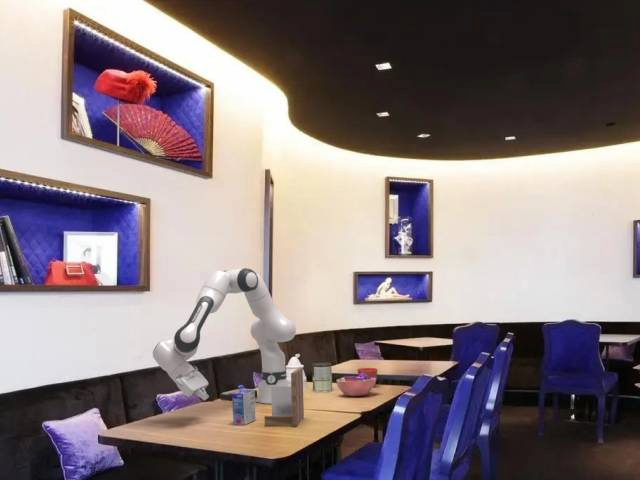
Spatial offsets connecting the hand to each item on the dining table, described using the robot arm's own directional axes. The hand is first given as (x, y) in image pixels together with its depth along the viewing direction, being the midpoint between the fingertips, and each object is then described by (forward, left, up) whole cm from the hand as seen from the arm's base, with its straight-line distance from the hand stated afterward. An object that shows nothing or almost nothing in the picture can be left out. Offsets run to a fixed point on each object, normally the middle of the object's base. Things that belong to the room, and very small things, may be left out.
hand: (206, 398), depth 244 cm
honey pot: (-92, +19, -10) cm, 94 cm away
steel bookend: (-8, +31, -9) cm, 33 cm away
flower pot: (-91, +59, -10) cm, 109 cm away
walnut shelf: (0, +31, -9) cm, 33 cm away
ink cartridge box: (0, +15, -10) cm, 18 cm away
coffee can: (-79, +36, -10) cm, 87 cm away
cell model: (-63, +55, -10) cm, 84 cm away
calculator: (-58, -3, -10) cm, 59 cm away
